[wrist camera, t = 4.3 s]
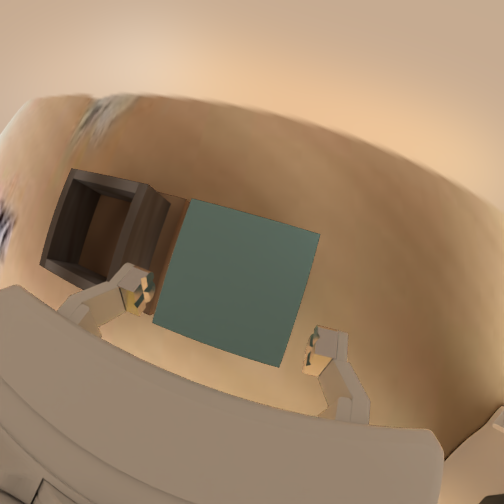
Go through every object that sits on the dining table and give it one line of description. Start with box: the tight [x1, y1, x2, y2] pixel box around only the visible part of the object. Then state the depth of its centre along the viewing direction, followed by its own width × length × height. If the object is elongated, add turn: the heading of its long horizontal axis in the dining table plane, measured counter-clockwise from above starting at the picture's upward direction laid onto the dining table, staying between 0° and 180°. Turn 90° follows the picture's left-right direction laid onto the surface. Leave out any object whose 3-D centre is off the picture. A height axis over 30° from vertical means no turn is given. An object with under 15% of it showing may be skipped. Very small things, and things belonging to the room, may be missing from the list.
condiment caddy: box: [40, 168, 190, 315], centre depth 20 cm, size 11×10×6 cm
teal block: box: [152, 199, 320, 368], centre depth 16 cm, size 5×5×12 cm
